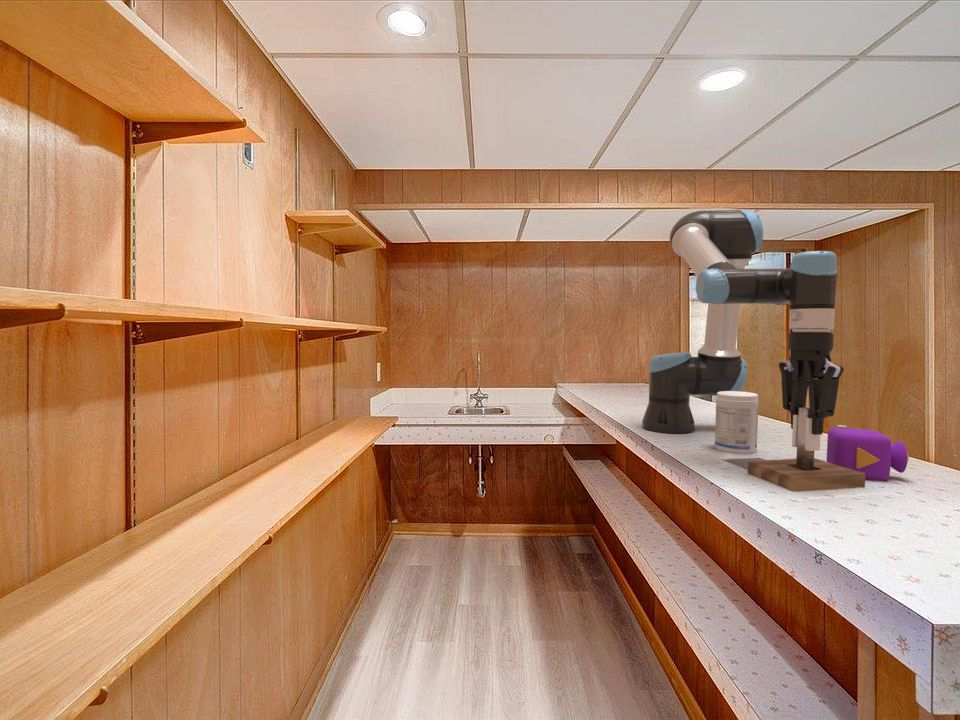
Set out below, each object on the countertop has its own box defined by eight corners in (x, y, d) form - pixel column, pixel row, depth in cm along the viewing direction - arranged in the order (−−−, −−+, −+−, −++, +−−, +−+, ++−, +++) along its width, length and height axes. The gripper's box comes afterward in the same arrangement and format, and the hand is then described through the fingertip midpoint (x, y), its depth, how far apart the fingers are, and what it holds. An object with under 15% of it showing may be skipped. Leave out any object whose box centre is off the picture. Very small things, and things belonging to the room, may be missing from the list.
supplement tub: (728, 445, 134) (730, 389, 133) (764, 452, 126) (767, 394, 125) (706, 449, 129) (708, 392, 128) (742, 457, 121) (744, 396, 120)
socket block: (747, 475, 106) (748, 461, 106) (812, 471, 109) (813, 457, 109) (793, 493, 94) (794, 477, 94) (864, 488, 98) (865, 473, 97)
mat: (721, 461, 117) (721, 459, 117) (759, 459, 119) (759, 457, 119) (759, 476, 106) (759, 474, 106) (800, 473, 108) (800, 471, 108)
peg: (792, 465, 103) (794, 406, 102) (804, 464, 103) (807, 406, 103) (804, 469, 100) (807, 408, 99) (817, 468, 100) (820, 408, 100)
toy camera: (919, 486, 100) (922, 436, 99) (841, 481, 102) (844, 432, 102) (887, 471, 110) (889, 425, 110) (817, 467, 113) (819, 423, 112)
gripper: (764, 330, 107) (760, 440, 108) (828, 330, 92) (823, 458, 93) (795, 331, 108) (790, 439, 110) (863, 331, 93) (857, 457, 94)
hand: (805, 448), depth 101 cm, fingers closed on peg, 2 cm apart
